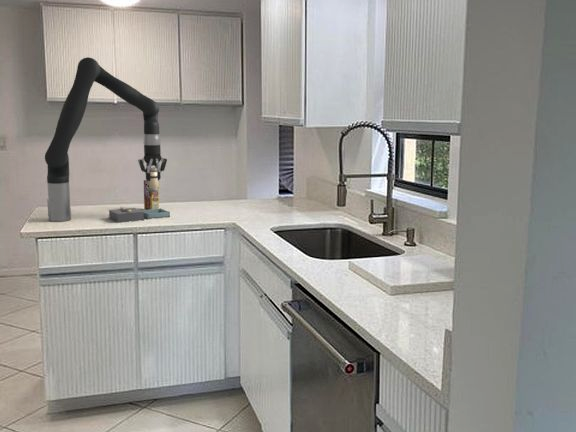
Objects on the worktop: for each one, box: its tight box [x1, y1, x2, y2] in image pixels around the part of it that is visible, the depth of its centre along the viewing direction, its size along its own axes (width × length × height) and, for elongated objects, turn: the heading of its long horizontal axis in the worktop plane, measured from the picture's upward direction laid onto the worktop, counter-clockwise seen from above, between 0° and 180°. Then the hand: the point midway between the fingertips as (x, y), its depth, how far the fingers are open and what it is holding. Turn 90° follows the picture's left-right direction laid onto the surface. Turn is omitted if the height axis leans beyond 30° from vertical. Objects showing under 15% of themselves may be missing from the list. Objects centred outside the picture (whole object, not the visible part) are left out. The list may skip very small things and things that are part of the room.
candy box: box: [143, 179, 160, 210], centre depth 296 cm, size 9×4×15 cm, turn 39°
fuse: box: [149, 167, 159, 192], centre depth 279 cm, size 4×4×11 cm
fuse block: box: [108, 206, 145, 224], centre depth 273 cm, size 12×12×5 cm
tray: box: [140, 207, 171, 220], centre depth 282 cm, size 11×11×2 cm
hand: (153, 180), depth 279 cm, fingers closed on fuse, 4 cm apart
